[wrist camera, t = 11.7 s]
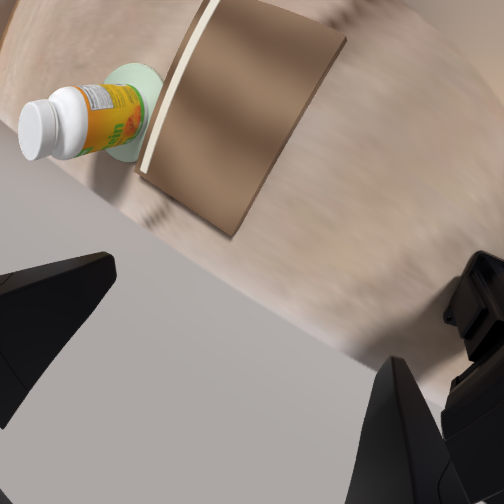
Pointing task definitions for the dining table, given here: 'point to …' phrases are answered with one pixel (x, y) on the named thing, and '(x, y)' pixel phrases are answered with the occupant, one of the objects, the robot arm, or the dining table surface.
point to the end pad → (151, 89)
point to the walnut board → (233, 104)
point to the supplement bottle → (82, 121)
